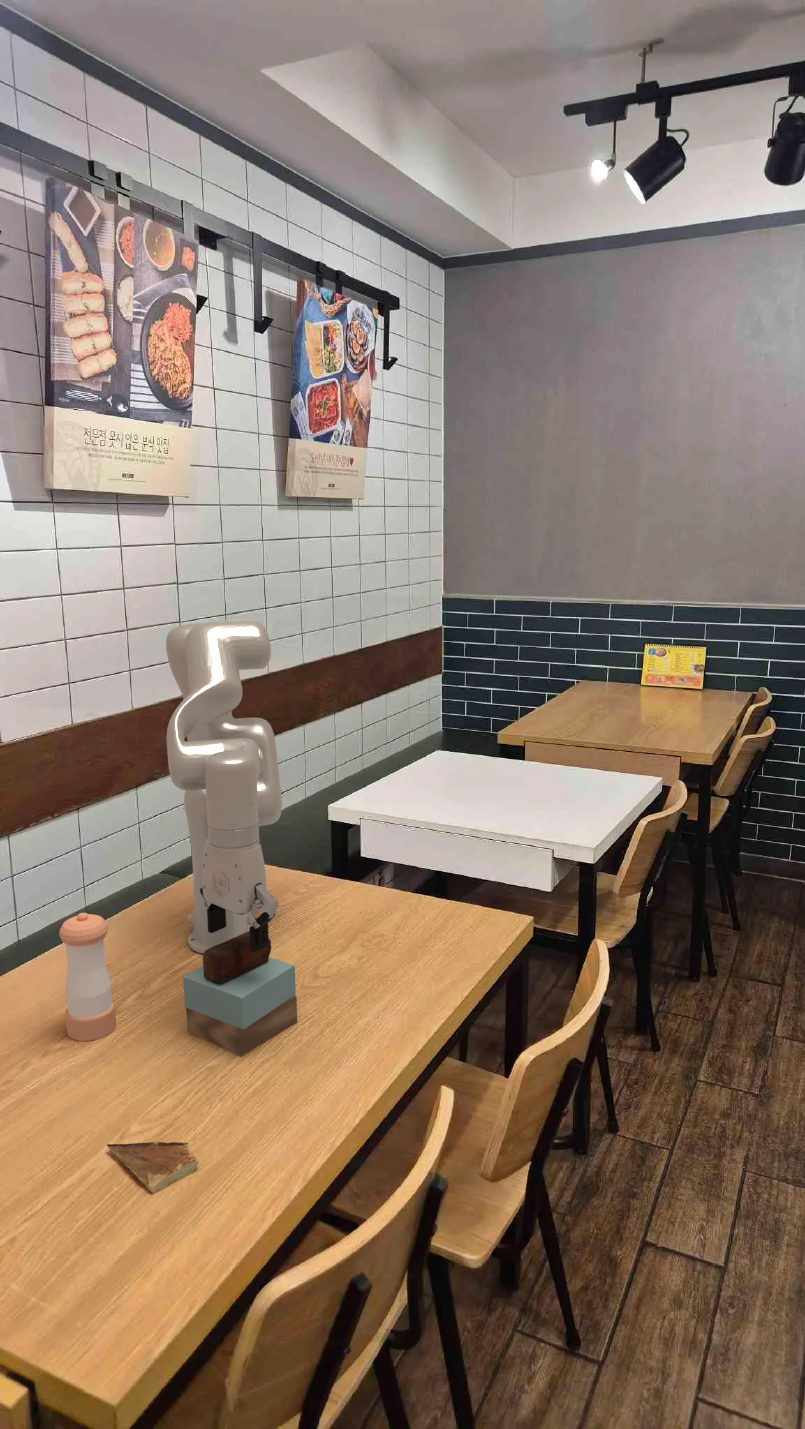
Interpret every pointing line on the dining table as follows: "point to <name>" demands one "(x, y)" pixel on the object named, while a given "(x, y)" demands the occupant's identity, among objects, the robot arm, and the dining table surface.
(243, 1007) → the tower top
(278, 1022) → the tower base
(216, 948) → the brick
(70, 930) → the salt shaker
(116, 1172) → the dining table surface
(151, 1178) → the shard
